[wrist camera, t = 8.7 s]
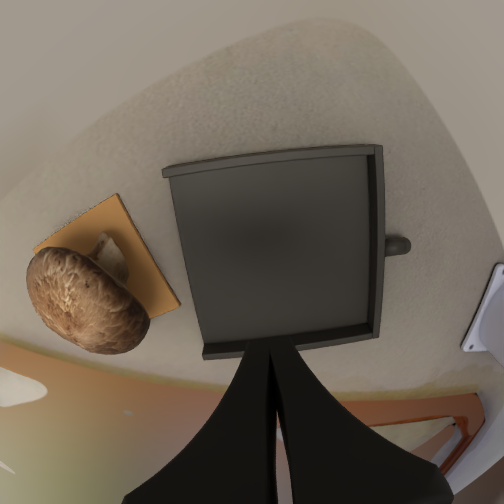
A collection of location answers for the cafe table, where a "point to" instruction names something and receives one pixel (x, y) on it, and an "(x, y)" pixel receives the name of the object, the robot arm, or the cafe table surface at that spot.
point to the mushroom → (87, 297)
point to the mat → (130, 243)
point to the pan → (284, 245)
